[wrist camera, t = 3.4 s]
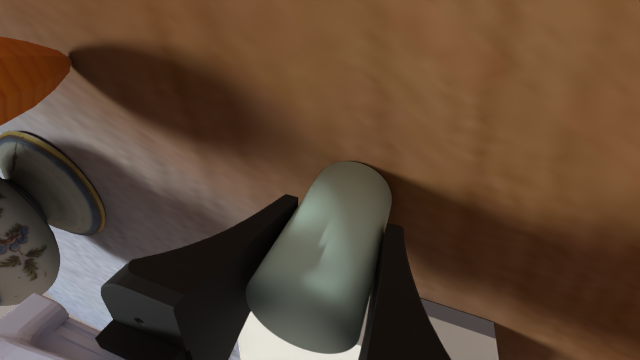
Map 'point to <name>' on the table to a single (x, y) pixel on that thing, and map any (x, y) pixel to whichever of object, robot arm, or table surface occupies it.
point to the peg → (324, 261)
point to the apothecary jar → (39, 213)
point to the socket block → (280, 356)
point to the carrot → (27, 75)
